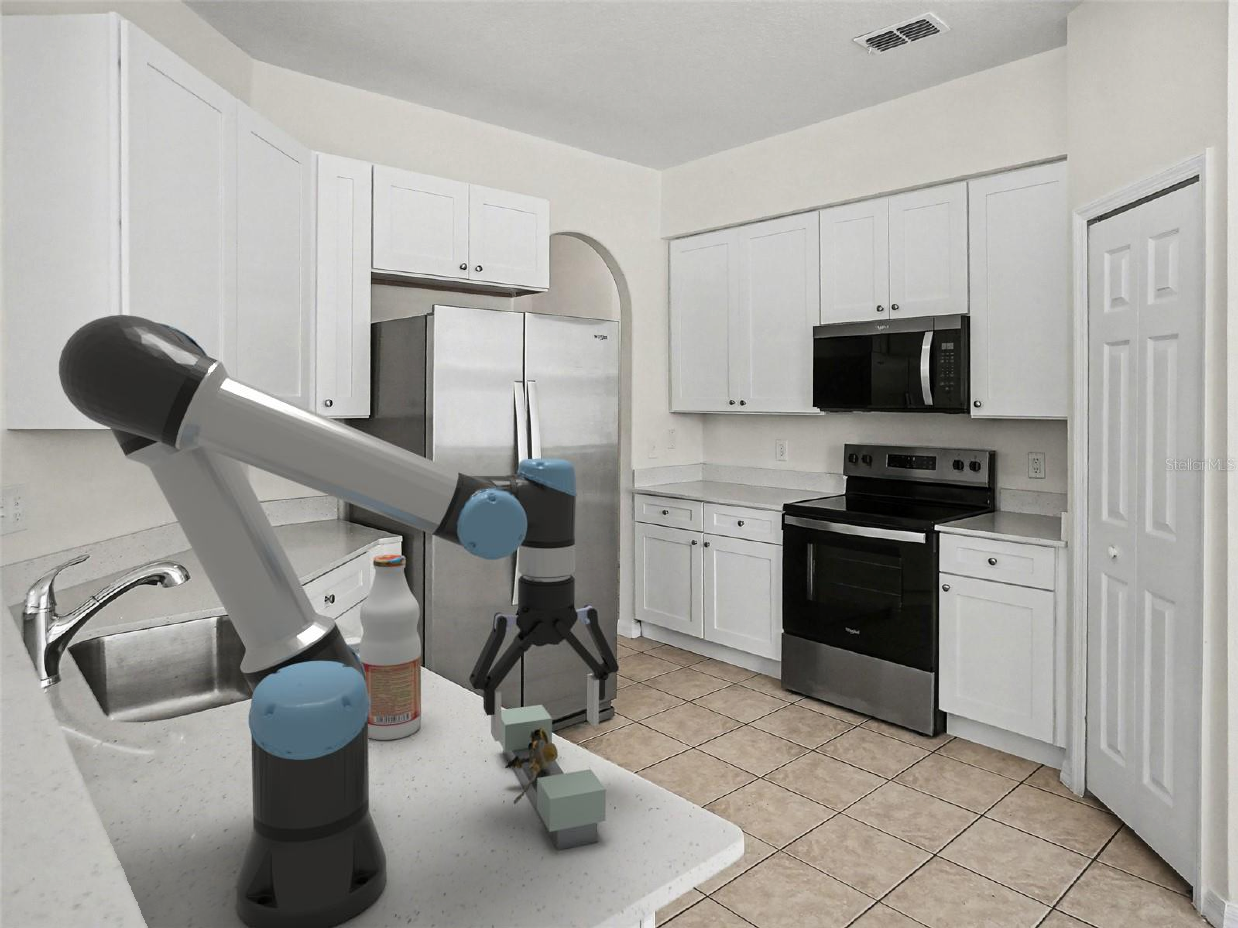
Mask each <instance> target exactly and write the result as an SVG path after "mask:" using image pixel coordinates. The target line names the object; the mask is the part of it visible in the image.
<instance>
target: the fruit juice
mask: <svg viewBox="0 0 1238 928" xmlns="http://www.w3.org/2000/svg"><path fill="white" fill-rule="evenodd" d="M372 564H373V569H374V570H375V574H374V578H373V582H372V585H371V588H370V591H369V593H368V595H367V597H366V598H365V599H364V601H362V602H363V603H362V604H361V606H360V609H359V610H360V611H359V618H360V619H359V621H360V624H361V627H362V630H363V631H362V635H361V637H360V638H361V641H360V652H359V658H360V660H361V662H362V664H363V667H364V670H365V674H366V677H365V678H366V682H367V692H368V695H369V701H370V709H369V714H368V739H372V740H379V741H381V740H382V741H388V740H389V741H391V740H392V741H393V740H397V739H401V738H402V739H403V738H406V737H408V736H411V735H412V734H414V733H416V732H417V731H418V730H419V728H420V727H421V723H422V674H421V673H422V665H421V663H422V660H421V659H422V650H421V649H422V648H421V647H422V646H421V645H422V644H421V638H420V634H419V632H418V629H417V626H418V622H419V619H420V613H421V612H420V605H419V602H418V601H417V599H416V597H415V596H414V594H413V593H412V591H411V589H410V587H409V584H408V582H407V578H406V574H405V568H406V565H407V561H406V557H405V555H401V554H381V555H378V556H375V557H374V558H373V563H372Z"/></svg>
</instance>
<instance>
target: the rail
mask: <svg viewBox="0 0 1238 928" xmlns="http://www.w3.org/2000/svg"><path fill="white" fill-rule="evenodd" d="M502 752H503V755H504V756H505V757H506V759H507V761H508V762H509V761H512V760H513V759H514V758H515V757H516V756H517V755H518V757H519V758H520V759H522V758H527V757H528V756H529V749H528V748H526V749H520V750H513V751H507V752H505V751H504V749H503V748H502ZM531 764H532V763H530V762H525V763H524V764H522V768H521V769H518V768H517V767H515V768H514V767H513V766H511V767H510V768H511V769H512V771H513V772H514V774H515V775H516V778H517V779H518V781H519V783H520V784H521V786H522V788H523V791H524V790H525V788H526V787H527V785H528V784H529V782H530V778H531V774H532V773H531V771H530V765H531ZM559 774H565V773H564V771H563V769H562V768H561V767H560V765H559V764H558V762H557V761H556V760H554V761H551V763H550V766H549V768H548V769H546V770H544V769H542V770H540V771H539V772H538V773H537V774H536V777H535V780H534V781H533V782H531V784H530V788H529V789H528V790H527V791H526V792H525V794H526V795H527V798H528V799H529V801H530V804H532V807H533V808H534V810H535V812H536V814H537V815H538V817H539V819H540V821H541V823H542V824H543V826H544V828H545V830H546V833H548V836H549V838H550V839H551V841H552V843H553V844H554V846H555V848H556V850H557V851H561V850H567V849H570V848H575V847H580V846H586V845H591V844H596V843H598V826H599V825H598V823H599V822H598V823H592V824H587V825H582V826H577V827H572V828H567V829H561V830H556V831H551V832H550V831H549V830H548V828H547V826H546V824H545V822H544V821H543V819H542V817H541V815H540V813H539V812H538V810H537V778H541V777H547V776H553V775H559Z"/></svg>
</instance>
